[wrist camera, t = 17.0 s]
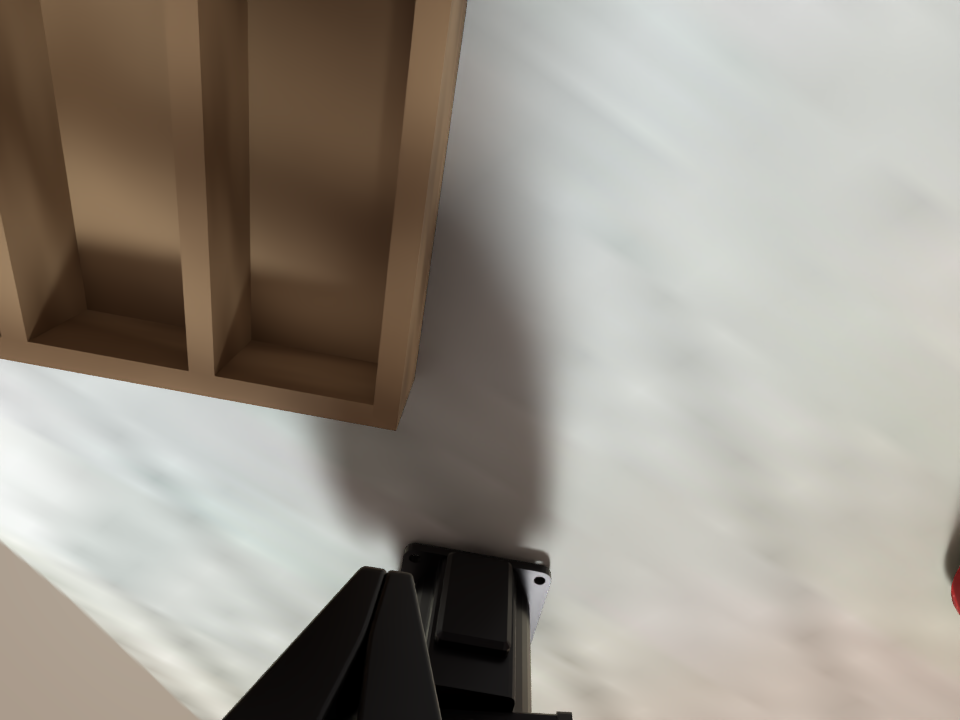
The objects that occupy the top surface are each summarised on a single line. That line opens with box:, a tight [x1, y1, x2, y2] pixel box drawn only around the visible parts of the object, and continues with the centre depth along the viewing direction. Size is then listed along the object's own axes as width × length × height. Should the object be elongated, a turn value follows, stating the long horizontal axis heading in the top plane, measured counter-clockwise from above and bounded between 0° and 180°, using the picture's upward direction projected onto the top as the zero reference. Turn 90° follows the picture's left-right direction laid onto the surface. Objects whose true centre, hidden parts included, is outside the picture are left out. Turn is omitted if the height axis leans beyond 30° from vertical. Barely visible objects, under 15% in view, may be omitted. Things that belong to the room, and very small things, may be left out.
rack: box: [0, 0, 467, 431], centre depth 16 cm, size 14×18×4 cm
